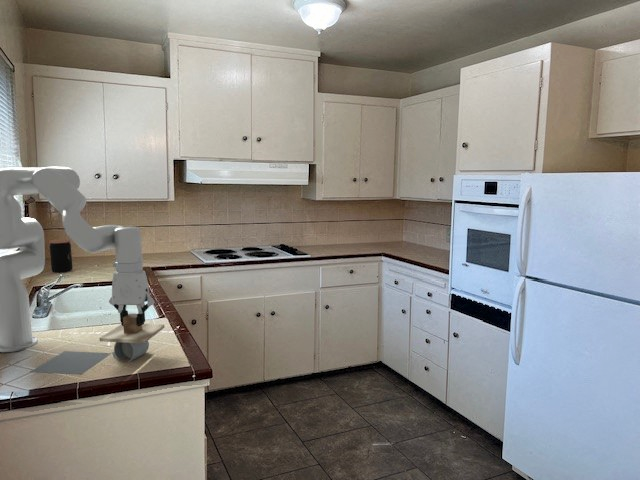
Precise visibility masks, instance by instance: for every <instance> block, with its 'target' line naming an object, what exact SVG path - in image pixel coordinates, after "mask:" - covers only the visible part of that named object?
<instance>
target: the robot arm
mask: <svg viewBox="0 0 640 480" xmlns="http://www.w3.org/2000/svg"><path fill="white" fill-rule="evenodd" d="M80 186H81V179H80V177H79V175H78V173H77V172H76V171H75V170H74V169H72V168H70V167H67V166H46V167H5V168H0V250H3V251H4V250H13V249H19V250H16V251H15V250H14V251H10V252H5V253H1V254H0V353H13V352H19V351H25V350H26V349H28V348H29V347H32V346H34V345H36V344H38V343H39V339H38V337H36V336H33V331H32V330H33V328H32V320H31V319H32V318H31V309H30V308H31V307H30V298H29V293H28V289H27V287H26V286H25V285H24V283H23V282H22V280H24V279H27V278H31V277H35V276H37V275H39V274H41V272H43V271H44V269H45V265H46V253H45V249H46V248H45V247H46V246H45V232H44V228H43V227H42V225H41V223H40V222H39V221H38V220H36V218H31V217H22V216H23V215H22V207H21V204H20V202H19V200H18V199H17V197H16V196H21V195H39V194H40V195H42V197H43V198H45V199H46V200H47V202H49V203H50V204H51V206H53V207H54V208H55V209H56V210H57V211H58V212H59V213H60V215H61V216H62V217H61V218H62V219H61V220H62V225H63V228H64V230H65V233H66V234H67V236H68V237H69V238H70V240H72V241H73V242H74V243H75V244H76V245H77V246H78V247H79V248H80V249H82V250H83V251H84V252H87V253H89V254H96V253H101V252H105V251H109V250H114V252H115V262H113V263H112V265H111V267H112V268H114V269H115V271H114V272H113V276H112V284H111V297H110V298H109V300H108V303H109V304H110V305H112V306H113V307H114V308H115V310H117V312H118V313H119V319H120V320H119V321H120V325H122V326H123V317H125V316H126V315H128V314H129V311H128V310H127V307H128V306H136V309H137V312H138V313H136V314H137V325H138V326H141V325H143V324H145V323H146V314H145V313H146V312H147V310H149V308H150V307H151V306H153V305H154V304H155V300H154V298H152V296H151V295H150V289H149V282H148V277H147V274H146V270H144V267H143V266H144V265H143V248H142V247H143V245H142V231H141V229H140V228H139V227H138V226H132V225H131V226H122V225H117V224H105V225H100V226H91V225H90V224H89V223H88V222H87V221H86V220H85V219H84V218H83V217H82V215H81V212H82V211H83V209H84V208H85V207H86V205H87V198H86V196H85V195H84V194H83V193H82V192H81V191H80V190H79V187H80ZM145 302H147V303H146V304H145Z"/></svg>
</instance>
